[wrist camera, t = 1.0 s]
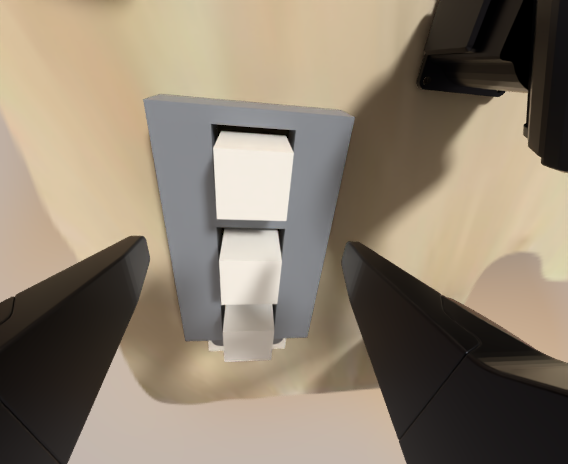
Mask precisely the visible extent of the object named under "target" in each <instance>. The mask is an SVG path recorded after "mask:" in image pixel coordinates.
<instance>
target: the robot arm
mask: <svg viewBox="0 0 568 464" xmlns="http://www.w3.org/2000/svg"><path fill="white" fill-rule="evenodd" d="M424 51H425V55H424V58H423V62H422V65H421V68H420V71H419V74H418V78H417V82H416V84H417V87H418V88H420V89H425V90H434V91H444V92H454V93H463V94H473V95H483V96H492V97H499V96H501V95H503V94H504V93H505V91H512V92H521V93H528V101H527V118H526V124H524V129H523V135H524V136H525V137H526V138H528V147H529V148H530V149H531V150H533V151H534V152H535V153H536V154H537V155H538V156H540V157H541V164H542V165H544V166H547V167H549V168H552V169H555V170H558V171H561V172H564V173H568V0H439V3H438V6H437V10H436V13H435V16H434V19H433V23H432V26H431V29H430V32H429V36H428V39H427V42H426V45H425V49H424ZM425 77H427V82H426V84H423V80H424V78H425ZM496 90H498V91H496ZM149 262H150V255H149V251H148V246H147V242H146V239H145V237H144V236H129V237H127V238H125V239H123V240H121V241H119V242H118V243H116V244H114V245H112V246H110V247H108V248H106V249H104V250H102V251H100V252H98V253H96V254H94V255H92V256H90V257H88V258H86V259H84V260H82V261H81V262H79V263H77V264H75V265H73V266H71V267H69V268H67V269H65V270H63V271H61V272H59V273H57V274H55V275H53V276H51V277H49V278H48V279H46V280H44V281H42V282H40V283H38V284H36V285H34V286H32V287H30V288H28V289H26V290H24V291H22V292H20V293H18V294H17V295H16V296H15V297H11V298H8V299H6V300H5V301H3V302H1V303H0V464H67V463H68V461H69V458H70V456H71V454H72V452H73V449H74V447H75V445H76V442H77V440H78V438H79V436H80V433H81V431H82V429H83V426H84V424H85V422H86V420H87V417H88V415H89V413H90V410H91V408H92V406H93V404H94V401H95V398H96V397H97V394H98V392H99V390H100V388H101V385H102V383H103V380H104V378H105V376H106V373H107V371H108V369H109V367H110V365H111V362H112V360H113V358H114V356H115V353H116V351H117V349H118V346H119V344H120V342H121V340H122V337H123V335H124V333H125V330H126V328H127V326H128V324H129V321H130V319H131V317H132V314H133V312H134V310H135V307H136V305H137V302H138V299H139V296H140V293H141V290H142V286H143V283H144V279H145V276H146V273H147V269H148V266H149ZM342 269H343V273H344V278H345V282H346V287H347V291H348V296H349V300H350V303H351V306H352V309H353V312H354V315H355V318H356V320H357V323H358V326H359V329H360V332H361V335H362V338H363V340H364V343H365V346H366V349H367V352H368V355H369V357H370V360H371V363H372V366H373V369H374V372H375V375H376V377H377V380H378V383H379V386H380V389H381V391H382V394H383V397H384V400H385V403H386V406H387V409H388V412H389V414H390V417H391V420H392V423H393V426H394V428H395V431H396V434H397V437H398V439H399V443H400V446H401V449H402V452H403V455H404V457H405V460H406V463H407V464H568V363H566V362H563V361H560V360H557V359H555V358H552V357H550V356H548V355H546V354H544V353H541V352H540V351H538V350H536V349H534V348H533V347H531V346H529V345H527V344H525V343H524V342H522V341H520V340H518V339H517V338H515V337H513V336H511V335H509V334H508V333H506V332H504V331H502V330H501V329H499V328H497V327H495V326H493V325H492V324H490V323H488V322H486V321H485V320H483V319H481V318H479V317H478V316H476V315H474V314H473V313H471V312H469V311H467V310H466V309H464V308H463V307H461V306H459V305H458V304H456V303H454V302H453V301H451V300H450V299H448V298H447V297H445V296H443V295H441V294H440V293H439V292H437V291H435V290H434V289H432V288H431V287H429V286H428V285H426V284H424V283H423V282H421V281H420V280H418V279H417V278H415V277H413V276H412V275H410V274H409V273H407V272H406V271H404V270H402V269H401V268H399V267H398V266H396V265H395V264H393V263H391V262H390V261H388V260H387V259H385V258H383V257H382V256H380V255H379V254H377V253H376V252H374V251H372V250H371V249H369V248H368V247H366V246H365V245H363V244H361V243H360V242H356V241H349V242H347V243H346V246H345V249H344V253H343V257H342Z"/></svg>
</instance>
